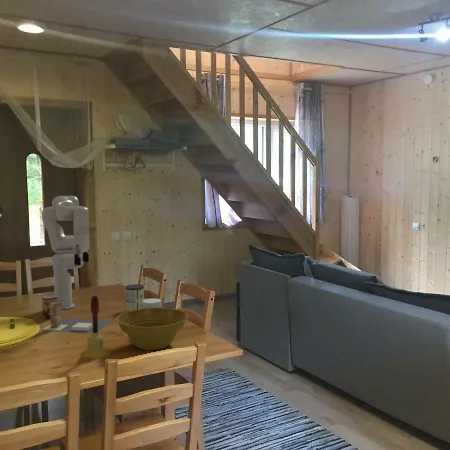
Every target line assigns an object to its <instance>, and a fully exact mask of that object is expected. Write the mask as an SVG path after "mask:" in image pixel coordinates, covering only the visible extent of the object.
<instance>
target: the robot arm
mask: <svg viewBox="0 0 450 450" xmlns="http://www.w3.org/2000/svg"><path fill="white" fill-rule="evenodd" d="M79 204H80V202H79V198H77V196H75V195H59V196H55V197H54V198H53V199H52V201H51V206H48V207H47V206H46V207H45V208H43V209H42V212H41V220H42V223H43V225H44V227H45V229H46V231H47V234H48V238H49V242H50V247H51V250H52V251H53V252H55V254H54V255H53V256H52V257H51V263H52V270H53V282H54V283H53V287H54V291H53V292H54V294H53V295H58V302H59V303H60V311H63V310H70V309H73V308H75V306H76V305H75V303H73V296H72V295H73V290H72V285H73V284H72V276H71V275H72V274H70V273H69V272H68V270H71V269H80V268H82V267H83V266H84V264H85V263H89V262H90V257H89V254H90V241H89V233H90V232H89V231H90V230H89V226H90V225H89V208H87V207H86V206H83V205H79ZM57 221H60V222H61V221H67V222H68V221H72V222H73V235H72V234H71V235H66V234H65V232H64V229H63V227H62V226H61V225H60V224H59V223H58V222H57Z"/></svg>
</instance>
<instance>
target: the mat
mask: <svg viewBox="0 0 450 450" xmlns="http://www.w3.org/2000/svg"><path fill="white" fill-rule="evenodd" d="M60 318H61V325H68V326H67V327H66V328H64V329H62V330H61V331H60V332H63V333H78V334H79V333H81V334H82V333H83V334H85V333H86V334H92V333H93V328H92V329H90V330H89V331H88V332H87V331H72V326H74V325H75V324H77V323H93V319H92V318H91V319H87V318H86V319H85V318H67V317H65V318H64V317H60ZM112 322H113V320H109V319H108V320H107V319H106V320H105V319H98V332H100V331H101V330H102V329H104V328H105V327H106V326H108V325H109V324H111V323H112ZM42 331H47V332H52V331H51V330H43V329H42Z"/></svg>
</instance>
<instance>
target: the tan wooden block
mask: <svg viewBox="0 0 450 450" xmlns="http://www.w3.org/2000/svg"><path fill="white" fill-rule="evenodd" d="M61 318H62V317H61V310H60V303H59V302H53V303H51V304H50V319H49V320H50V325H51V328H59V327H60V326H61Z"/></svg>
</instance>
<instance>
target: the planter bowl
mask: <svg viewBox="0 0 450 450" xmlns="http://www.w3.org/2000/svg"><path fill="white" fill-rule="evenodd" d="M188 318H189V315H188V313H187V312H185V311H183V310H181V309H176V308H171V307H162V308H143V309H136V310H131V311H127V312H126V311H125V312H121V313H120V314H118V315H117V316H116V317H115V322H116V323H117V324H118V326H119V327H120V330H121V331H122V332H123V333H125V334H127V336H128V338H129V340H130V341H131V343H132V344H133V346H135V347H137V348H138V349H141V350H145V351H156V350H161V349H164V348H166V347H167V348H168V346H169V345H171V344H172V343H173V341H174V339H175V337H176V335H177V333H178V332H179V331H180V330H181V329H182V328H183V327H184V325H185V324H186V323H185V322H186V320H188Z"/></svg>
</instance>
